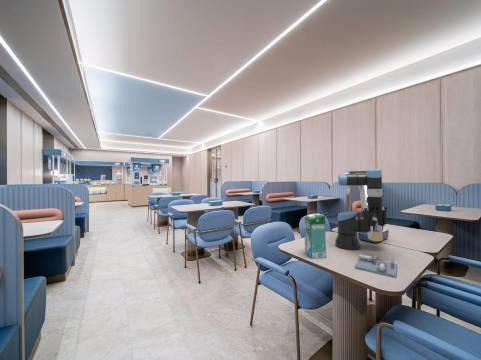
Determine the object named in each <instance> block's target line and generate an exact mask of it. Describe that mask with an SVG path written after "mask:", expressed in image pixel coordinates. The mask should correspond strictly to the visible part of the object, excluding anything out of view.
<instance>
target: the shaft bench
mask: <svg viewBox="0 0 481 360" xmlns="http://www.w3.org/2000/svg"><path fill="white" fill-rule="evenodd" d="M377 257H378V256H377V255H371V256H370V255H365V254H360V253H359V254H358V260H357V261H356V263H355V264H354V269H356V270H360V271H365V272H368V273H372V274H377V275H382V276H386V277H389V278H396V279H397V272H398V271H397V270H398V263H396V262H395V260H394V259H395V258H391V260H390V262H389V261H384V260H379V259H377Z"/></svg>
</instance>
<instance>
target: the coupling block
mask: <svg viewBox="0 0 481 360" xmlns="http://www.w3.org/2000/svg"><path fill="white" fill-rule="evenodd" d="M383 232H384V231H378V230H375V229H373V238H370V237H368V236H367V239H368V240H371V241H373V242H383V241H384V239H383V238H384V236H383V235H384V233H383Z"/></svg>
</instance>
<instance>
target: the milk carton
mask: <svg viewBox="0 0 481 360" xmlns="http://www.w3.org/2000/svg"><path fill="white" fill-rule="evenodd" d="M326 239H327V237H326V215H324V214H321V213H313V214H309V215H308V216H305V217H304V253H305V254H306V255H307V256H308V257H309V258H310V259H326V258H327V256H326V255H327V252H326V251H327V249H326V248H327V247H326V246H327V245H326V243H327V242H326Z"/></svg>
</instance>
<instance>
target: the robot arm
mask: <svg viewBox="0 0 481 360" xmlns="http://www.w3.org/2000/svg"><path fill="white" fill-rule="evenodd" d="M337 177H338V179H337V180H338V181H337V182H338V185H339V186H343V187H344V186H345V187H347V186H350V187H351V186H356V187H357V188H358V189H359V195H360V196H359V197H360V205H361V206H360V207H361V211H360V212H359V214H358V213H357V212H356V211H344V212H339V213H338V214H337V236H336V239H335V242H334V243H335V244H334V245H335V247H336V248H339V249H342V250H348V251H358V250H360V249H361V243H360V240H359V237H358V233H366V234H367V238H368V237H370V238H373V229H375V230H378V231H382V232H384V231H383V230H384V227H385V225H387V209H388V207H387V206H383V205H382V204H383V197H382V196H383V172H382V169H379V168H378V169H377V168H376V169H375V168H374V169H370V168H369V169H366V170H351V171H350V170H349V171H346V172H343V173H340V174H338V176H337Z"/></svg>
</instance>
